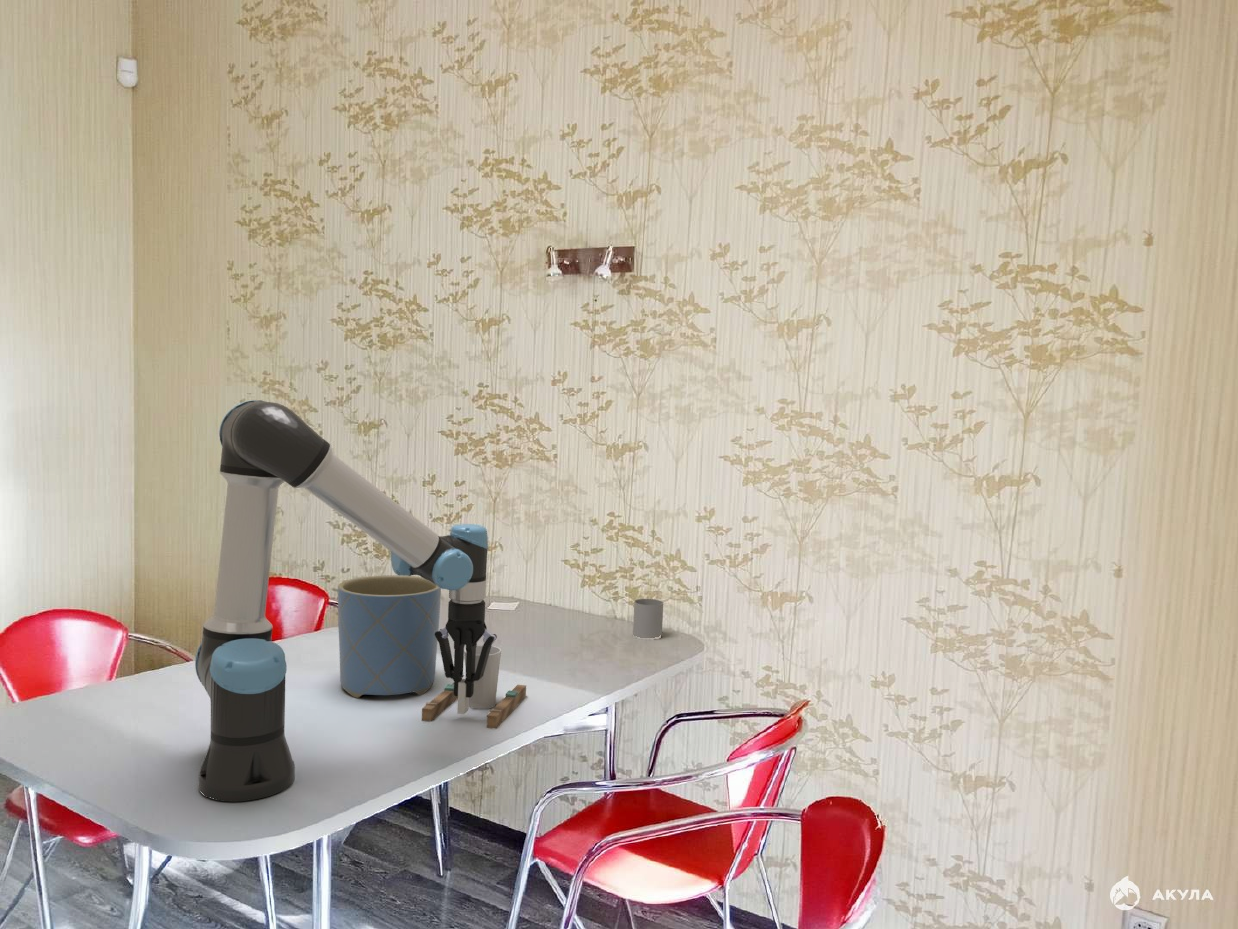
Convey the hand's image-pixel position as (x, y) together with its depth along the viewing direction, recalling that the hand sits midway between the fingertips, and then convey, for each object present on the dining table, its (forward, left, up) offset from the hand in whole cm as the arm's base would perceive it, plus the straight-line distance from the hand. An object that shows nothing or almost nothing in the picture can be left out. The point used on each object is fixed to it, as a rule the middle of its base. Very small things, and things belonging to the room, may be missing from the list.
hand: (462, 711), depth 190 cm
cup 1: (+10, -1, -2) cm, 10 cm away
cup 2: (+79, -27, -2) cm, 83 cm away
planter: (+15, +24, -2) cm, 28 cm away
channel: (+7, 0, -2) cm, 7 cm away
